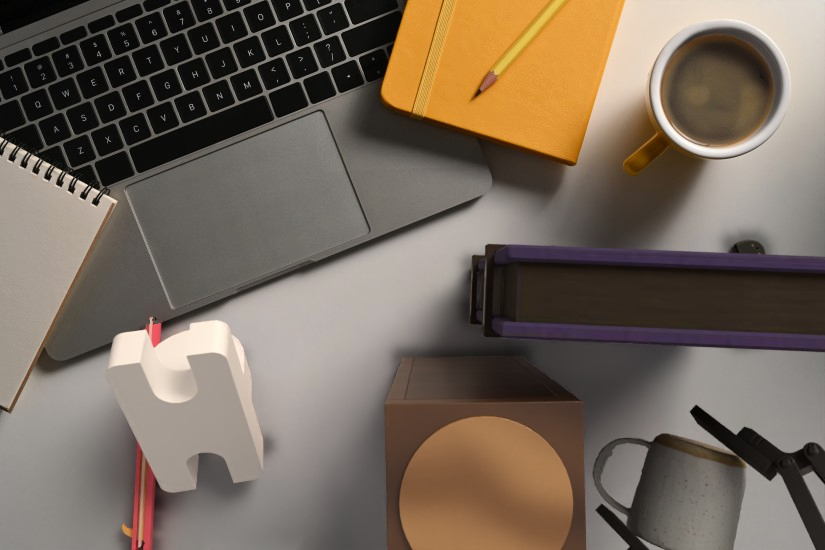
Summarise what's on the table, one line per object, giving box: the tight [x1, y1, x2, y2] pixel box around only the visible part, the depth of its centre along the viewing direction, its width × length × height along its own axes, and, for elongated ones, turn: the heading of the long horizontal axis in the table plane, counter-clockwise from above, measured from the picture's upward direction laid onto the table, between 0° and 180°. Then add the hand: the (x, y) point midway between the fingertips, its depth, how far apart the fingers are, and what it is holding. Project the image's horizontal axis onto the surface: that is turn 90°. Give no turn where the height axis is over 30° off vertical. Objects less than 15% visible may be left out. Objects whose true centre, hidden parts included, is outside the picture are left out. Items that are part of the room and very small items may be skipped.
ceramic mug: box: [592, 432, 748, 550], centre depth 54 cm, size 11×8×8 cm
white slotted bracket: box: [104, 319, 264, 493], centre depth 65 cm, size 10×18×11 cm
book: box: [468, 243, 825, 353], centre depth 54 cm, size 24×6×30 cm, turn 88°
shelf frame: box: [385, 355, 577, 401], centre depth 56 cm, size 12×12×26 cm
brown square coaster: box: [383, 396, 588, 550], centre depth 42 cm, size 12×12×2 cm
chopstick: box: [121, 316, 162, 550], centre depth 69 cm, size 24×2×5 cm
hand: (650, 462), depth 53 cm, fingers closed on ceramic mug, 10 cm apart
